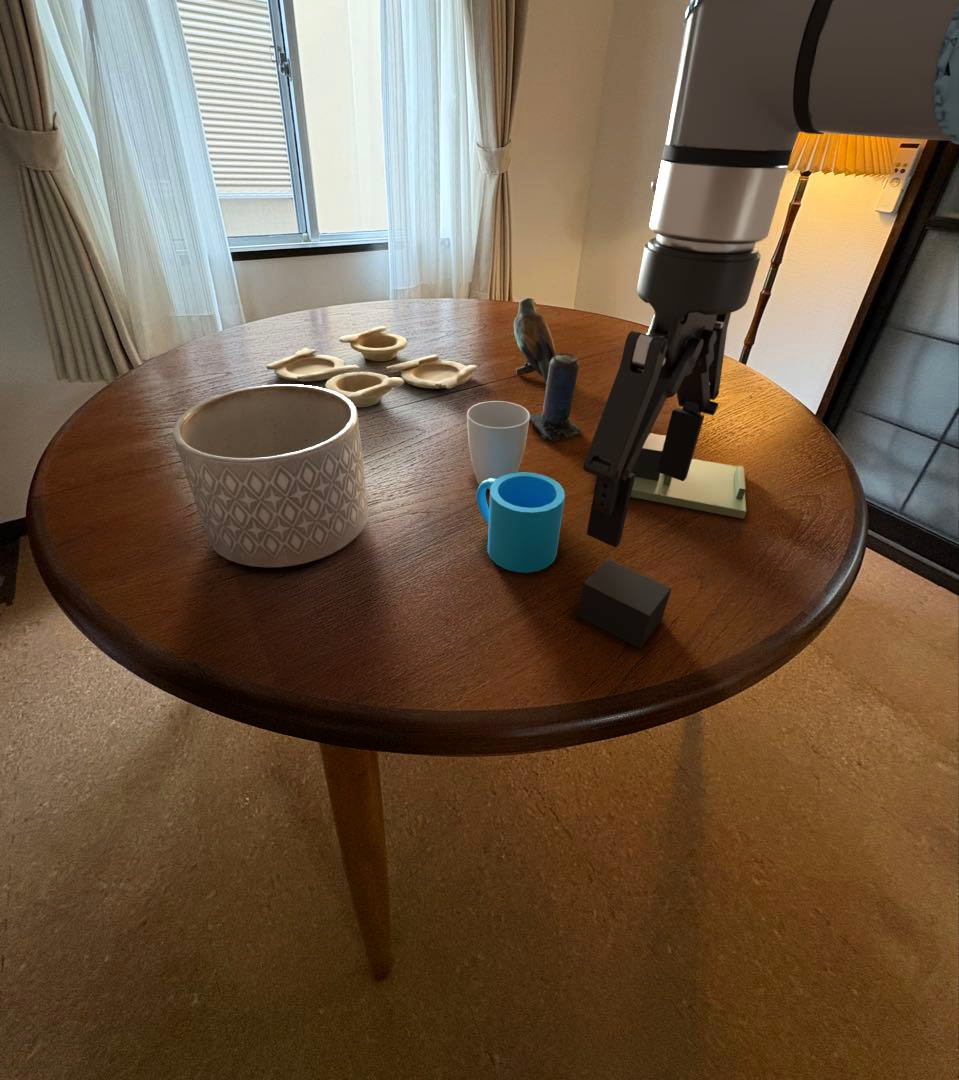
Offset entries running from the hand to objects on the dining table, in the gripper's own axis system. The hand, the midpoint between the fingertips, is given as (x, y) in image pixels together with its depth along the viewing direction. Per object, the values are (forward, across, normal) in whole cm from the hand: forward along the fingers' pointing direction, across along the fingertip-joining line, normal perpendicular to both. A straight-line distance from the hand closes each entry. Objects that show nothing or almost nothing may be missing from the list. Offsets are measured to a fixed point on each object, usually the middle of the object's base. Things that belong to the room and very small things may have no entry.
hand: (640, 504), depth 50 cm
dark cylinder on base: (+13, -31, -28) cm, 44 cm away
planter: (+13, +13, -37) cm, 41 cm away
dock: (+13, -28, -6) cm, 32 cm away
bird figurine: (+13, -49, -42) cm, 66 cm away
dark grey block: (+13, +1, +1) cm, 13 cm away
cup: (+13, -12, -25) cm, 31 cm away
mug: (+13, -2, -15) cm, 20 cm away
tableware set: (+13, -27, -66) cm, 73 cm away
